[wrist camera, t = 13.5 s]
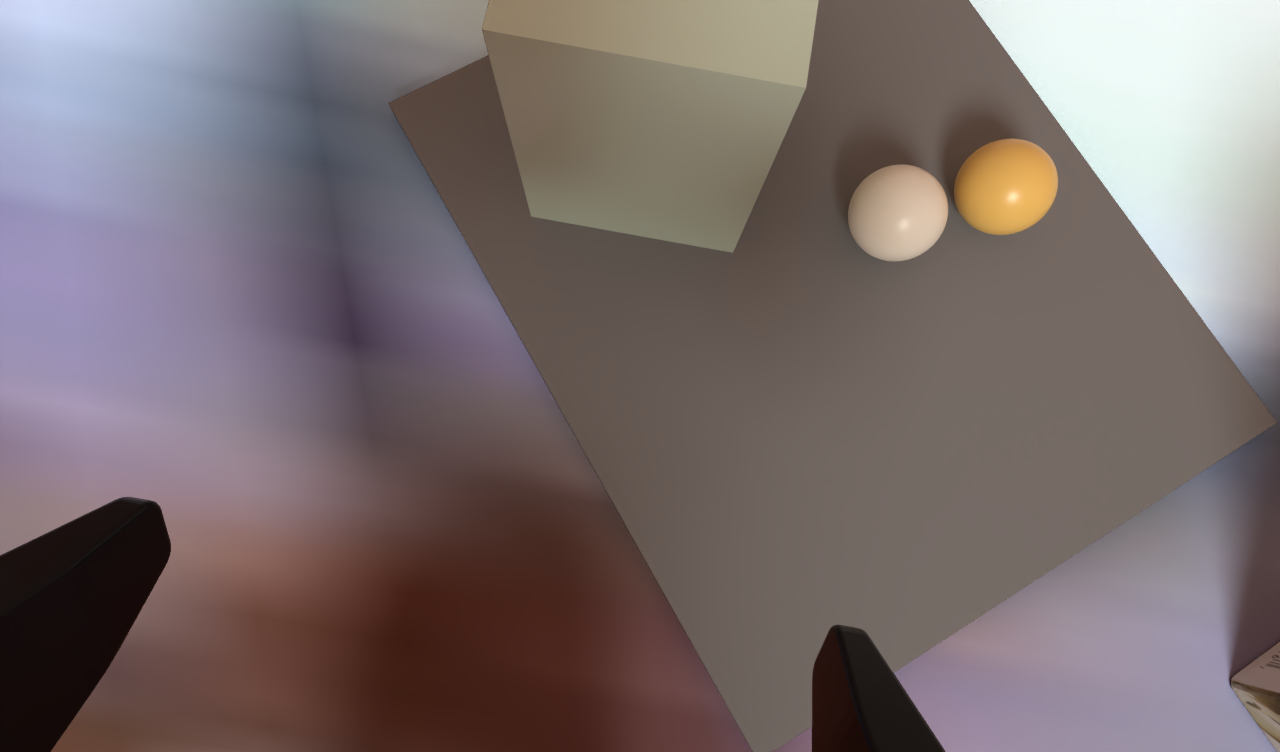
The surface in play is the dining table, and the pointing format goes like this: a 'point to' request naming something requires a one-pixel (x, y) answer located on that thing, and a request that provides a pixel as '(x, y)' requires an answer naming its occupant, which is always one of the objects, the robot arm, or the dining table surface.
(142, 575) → the robot arm
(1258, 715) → the coffee box
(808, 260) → the mat
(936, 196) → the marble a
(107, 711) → the dining table surface
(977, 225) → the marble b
